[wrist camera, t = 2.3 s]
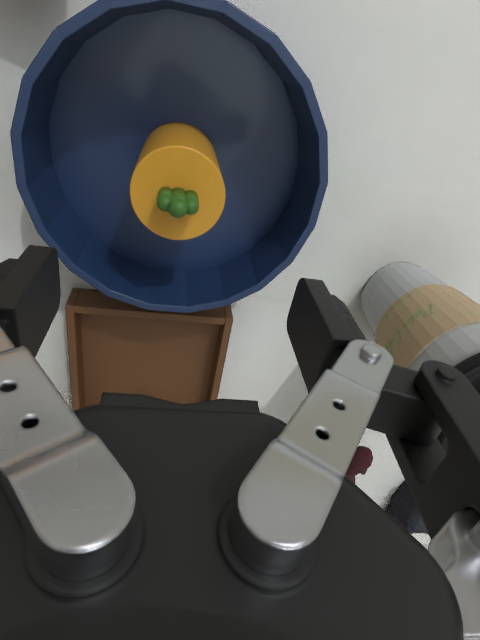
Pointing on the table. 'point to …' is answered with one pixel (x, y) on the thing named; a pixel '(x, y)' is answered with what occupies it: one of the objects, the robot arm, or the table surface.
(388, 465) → the table surface
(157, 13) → the pot
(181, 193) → the pineapple
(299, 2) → the table surface
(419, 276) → the coffee cup
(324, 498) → the robot arm
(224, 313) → the tray
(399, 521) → the dark slate chunk
